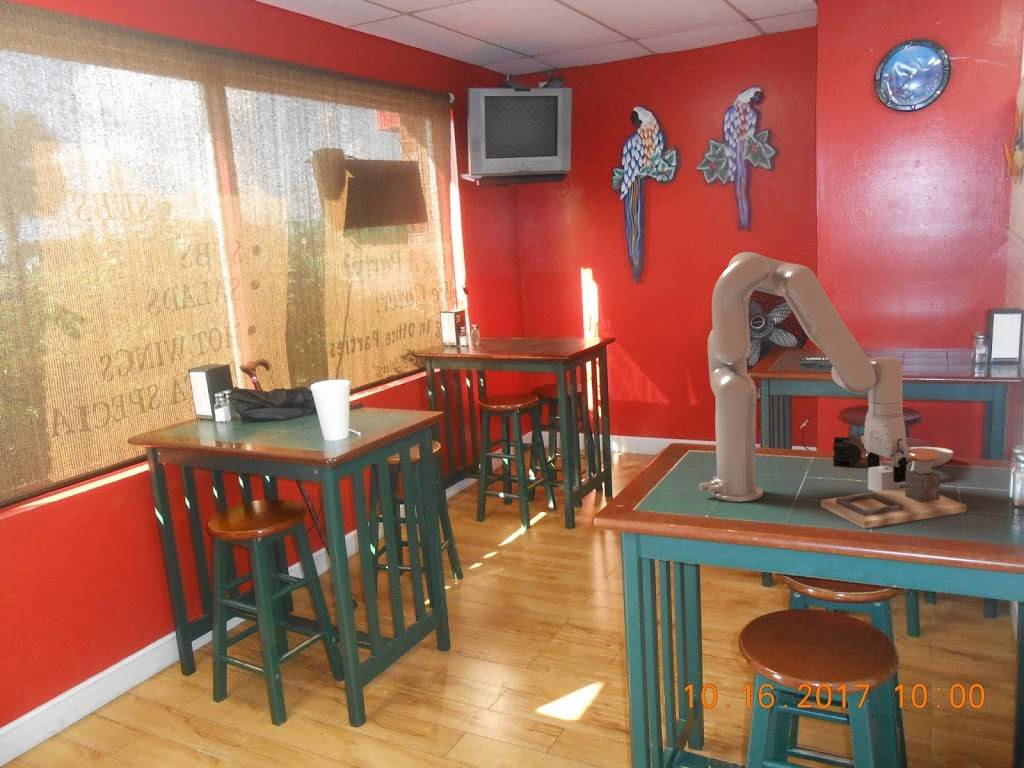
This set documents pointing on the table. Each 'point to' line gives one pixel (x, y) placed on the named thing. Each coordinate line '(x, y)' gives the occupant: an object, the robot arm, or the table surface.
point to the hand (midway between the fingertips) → (886, 476)
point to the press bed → (896, 503)
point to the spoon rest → (943, 456)
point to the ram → (923, 460)
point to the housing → (881, 478)
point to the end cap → (846, 451)
